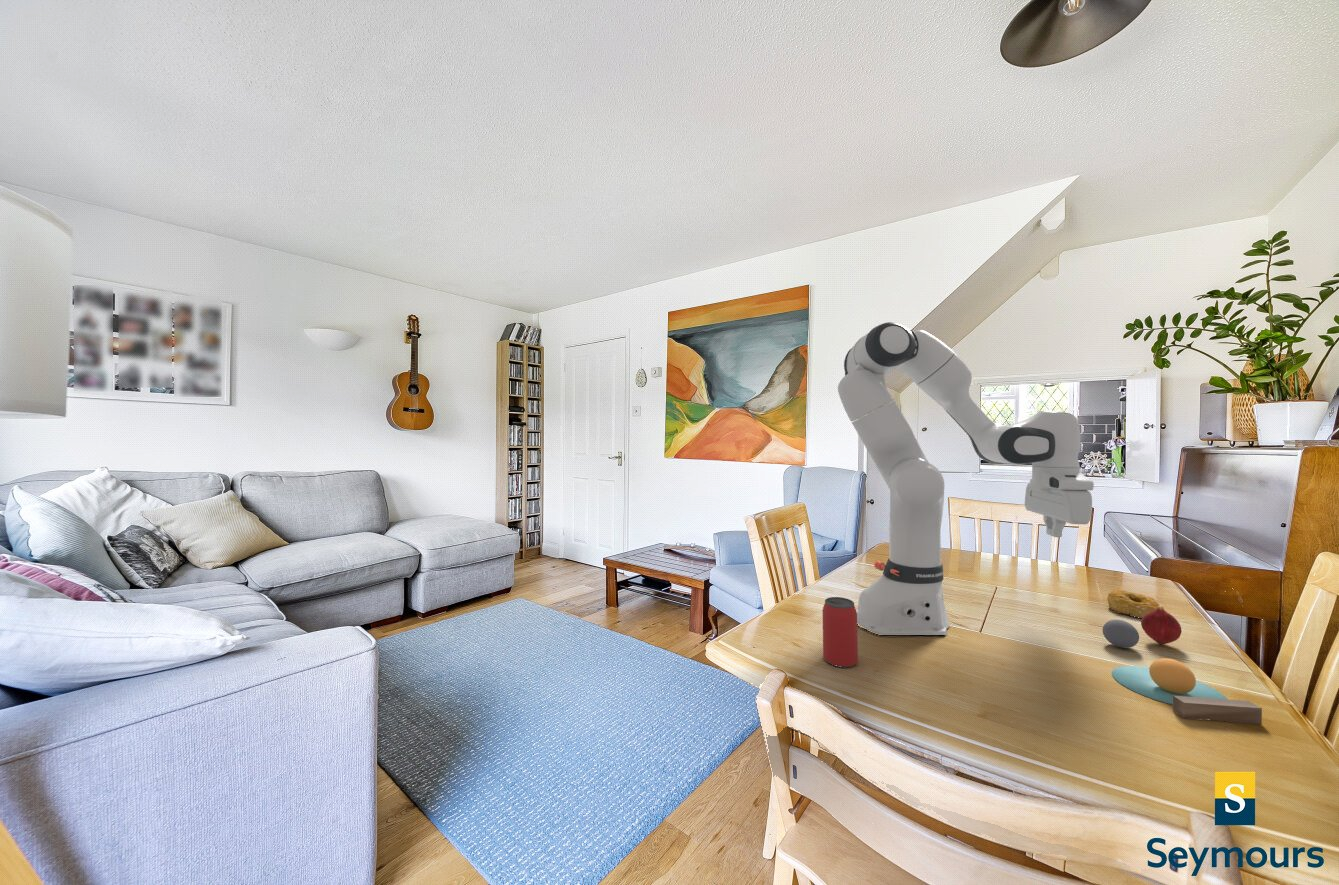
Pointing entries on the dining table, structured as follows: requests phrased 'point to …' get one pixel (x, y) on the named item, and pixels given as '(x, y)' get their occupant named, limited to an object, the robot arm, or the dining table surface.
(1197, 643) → the dining table surface
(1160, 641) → the onion
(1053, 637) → the dining table surface
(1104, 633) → the grey rubber ball
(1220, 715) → the wall
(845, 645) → the beer can
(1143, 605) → the bagel
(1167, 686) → the orange ball
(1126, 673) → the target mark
